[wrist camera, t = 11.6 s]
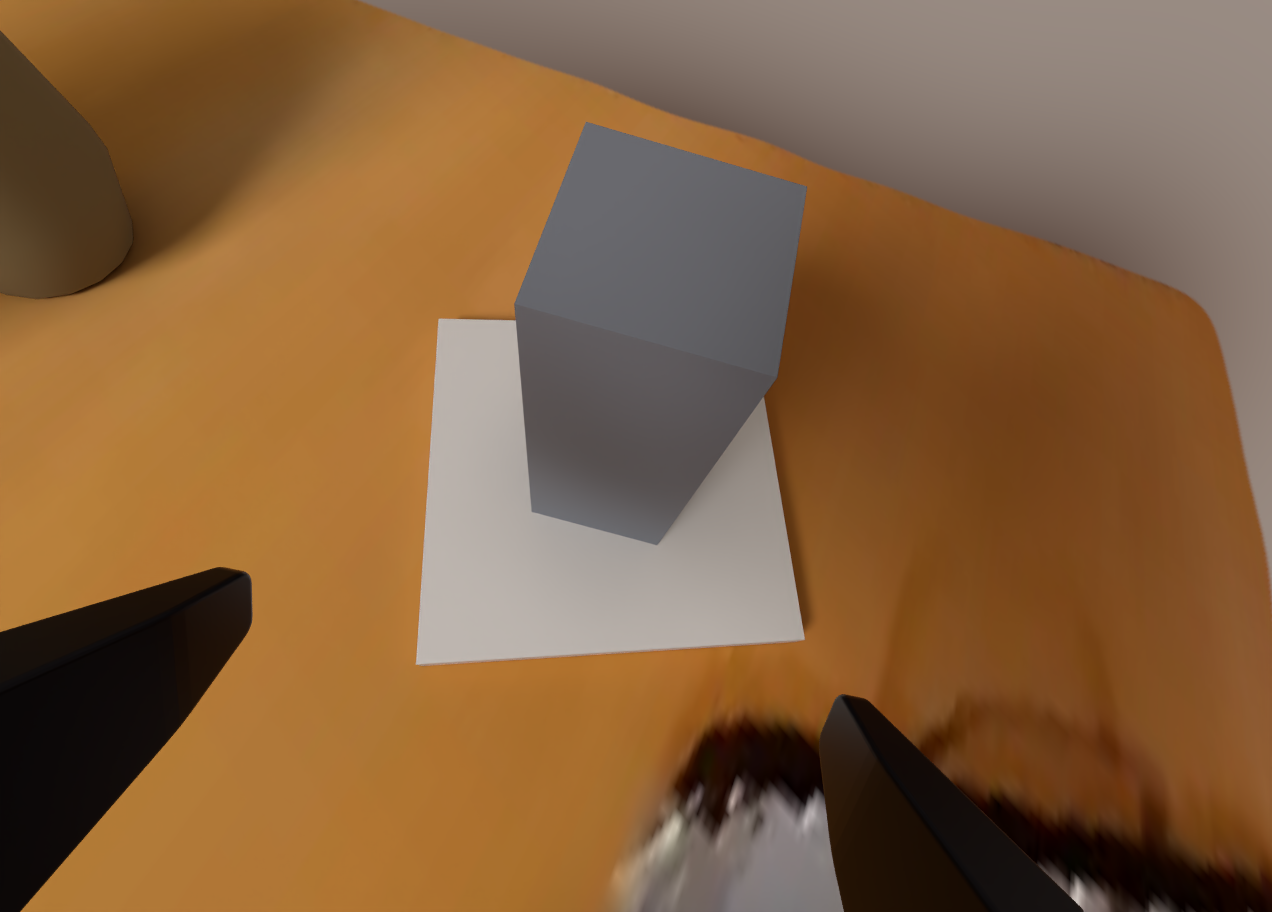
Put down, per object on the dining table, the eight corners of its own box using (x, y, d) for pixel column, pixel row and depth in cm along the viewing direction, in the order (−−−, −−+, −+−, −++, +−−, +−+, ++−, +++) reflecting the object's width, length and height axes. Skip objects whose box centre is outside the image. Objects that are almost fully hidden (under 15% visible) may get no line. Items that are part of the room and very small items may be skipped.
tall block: (657, 545, 23) (777, 377, 11) (531, 512, 23) (514, 304, 11) (682, 432, 25) (807, 186, 13) (567, 400, 25) (585, 122, 13)
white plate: (794, 641, 23) (804, 639, 22) (421, 665, 21) (416, 664, 20) (745, 337, 28) (751, 325, 27) (442, 332, 26) (438, 318, 25)
